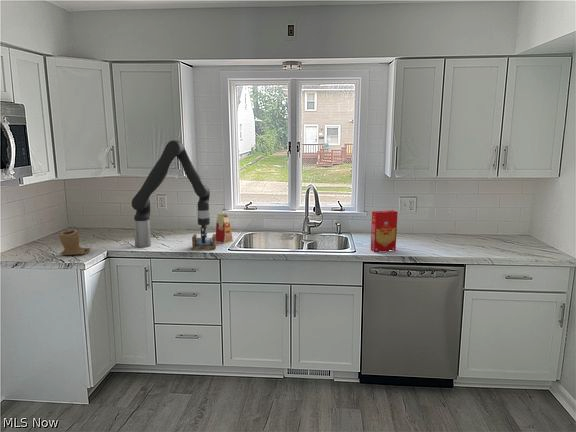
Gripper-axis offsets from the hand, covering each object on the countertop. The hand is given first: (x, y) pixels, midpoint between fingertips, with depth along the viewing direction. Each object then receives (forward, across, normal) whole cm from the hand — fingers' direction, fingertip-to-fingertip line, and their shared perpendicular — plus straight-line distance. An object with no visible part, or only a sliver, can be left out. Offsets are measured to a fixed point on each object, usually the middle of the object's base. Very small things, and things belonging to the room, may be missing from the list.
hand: (204, 241), depth 281 cm
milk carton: (+4, -16, +11) cm, 20 cm away
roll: (0, 0, 0) cm, 0 cm away
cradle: (+4, 0, 0) cm, 4 cm away
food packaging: (+4, +13, +113) cm, 114 cm away
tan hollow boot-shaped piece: (+4, +12, -76) cm, 77 cm away
